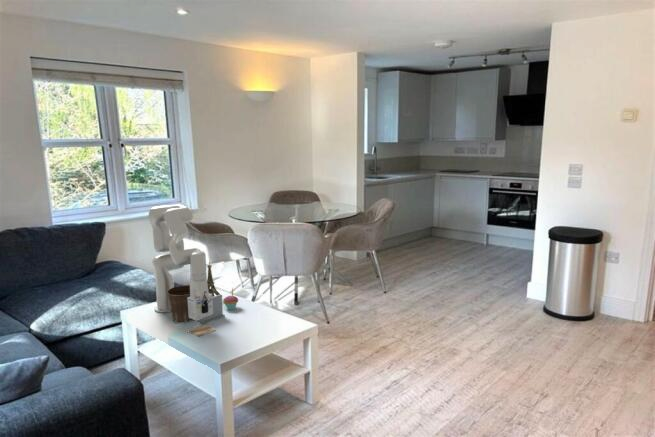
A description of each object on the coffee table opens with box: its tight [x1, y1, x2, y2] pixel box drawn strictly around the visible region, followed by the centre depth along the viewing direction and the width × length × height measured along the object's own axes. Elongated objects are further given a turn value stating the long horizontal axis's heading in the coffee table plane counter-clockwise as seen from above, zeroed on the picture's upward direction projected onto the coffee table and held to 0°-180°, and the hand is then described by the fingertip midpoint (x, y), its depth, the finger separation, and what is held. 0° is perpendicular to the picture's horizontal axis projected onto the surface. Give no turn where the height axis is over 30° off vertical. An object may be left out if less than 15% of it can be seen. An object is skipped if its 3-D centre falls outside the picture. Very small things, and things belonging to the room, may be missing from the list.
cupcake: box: [222, 288, 239, 311], centre depth 259 cm, size 9×8×12 cm
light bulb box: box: [187, 293, 213, 321], centre depth 227 cm, size 11×7×11 cm, turn 145°
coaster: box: [187, 323, 216, 338], centre depth 229 cm, size 10×10×1 cm
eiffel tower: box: [206, 262, 221, 297], centre depth 275 cm, size 11×11×25 cm
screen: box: [196, 293, 226, 325], centre depth 243 cm, size 5×14×12 cm, turn 138°
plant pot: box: [167, 284, 194, 324], centre depth 244 cm, size 16×16×16 cm
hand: (200, 310), depth 227 cm, fingers closed on light bulb box, 7 cm apart
